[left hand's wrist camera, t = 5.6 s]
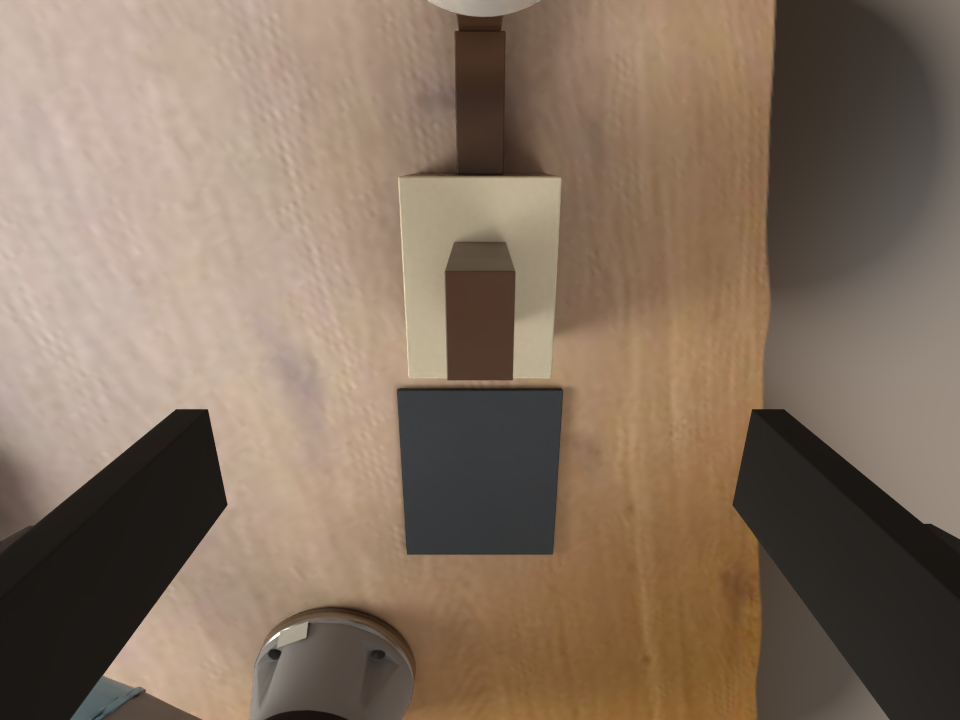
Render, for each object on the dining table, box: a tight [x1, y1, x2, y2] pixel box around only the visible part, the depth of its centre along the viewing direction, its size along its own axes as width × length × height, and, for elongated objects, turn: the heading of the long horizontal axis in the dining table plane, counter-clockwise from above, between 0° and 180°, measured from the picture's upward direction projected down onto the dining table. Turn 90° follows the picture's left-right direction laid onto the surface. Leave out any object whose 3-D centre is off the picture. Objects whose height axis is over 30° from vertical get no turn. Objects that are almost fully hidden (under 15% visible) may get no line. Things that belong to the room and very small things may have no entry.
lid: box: [398, 176, 562, 380], centre depth 28 cm, size 12×9×10 cm
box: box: [406, 13, 554, 176], centre depth 32 cm, size 24×9×7 cm, turn 0°
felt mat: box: [397, 389, 563, 554], centre depth 44 cm, size 16×13×1 cm
